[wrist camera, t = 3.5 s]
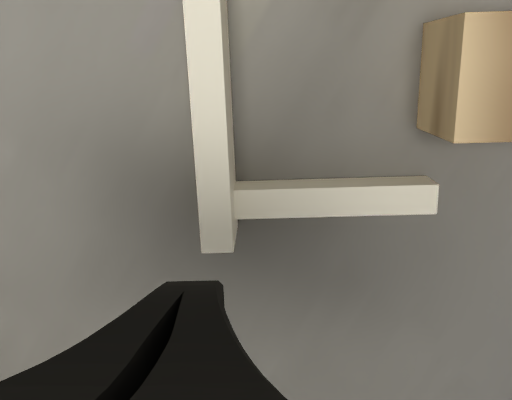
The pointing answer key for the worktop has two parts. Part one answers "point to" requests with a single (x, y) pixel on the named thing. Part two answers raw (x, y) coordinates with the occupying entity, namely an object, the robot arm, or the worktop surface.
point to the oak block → (467, 78)
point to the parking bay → (266, 191)
